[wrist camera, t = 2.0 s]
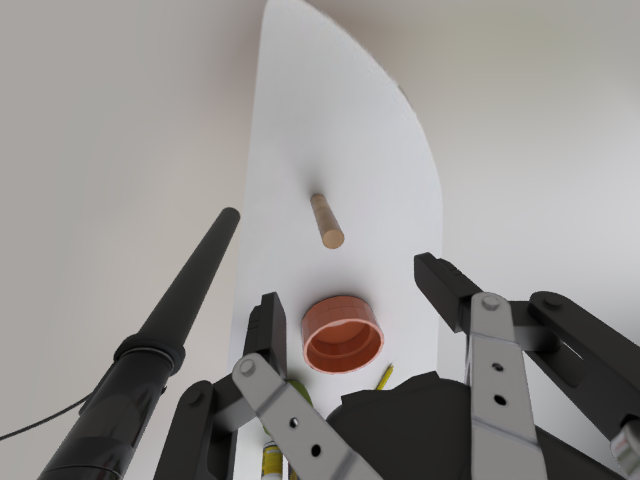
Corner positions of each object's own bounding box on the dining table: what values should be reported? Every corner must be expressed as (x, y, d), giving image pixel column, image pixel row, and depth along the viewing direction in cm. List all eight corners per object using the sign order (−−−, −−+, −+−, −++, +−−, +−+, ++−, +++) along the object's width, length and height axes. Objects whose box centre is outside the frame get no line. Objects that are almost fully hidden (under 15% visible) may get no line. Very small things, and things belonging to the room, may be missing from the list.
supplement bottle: (262, 442, 63) (258, 493, 54) (282, 439, 64) (281, 489, 55) (264, 451, 66) (260, 502, 57) (283, 448, 66) (283, 498, 58)
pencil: (370, 404, 61) (371, 408, 60) (367, 404, 61) (368, 408, 60) (394, 363, 54) (396, 367, 53) (390, 363, 54) (392, 367, 53)
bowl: (309, 353, 48) (312, 381, 43) (293, 304, 42) (294, 331, 36) (374, 337, 49) (385, 363, 44) (369, 286, 42) (381, 309, 37)
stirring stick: (312, 209, 34) (324, 251, 23) (309, 195, 33) (320, 232, 22) (327, 206, 34) (345, 246, 23) (324, 192, 33) (342, 227, 22)
